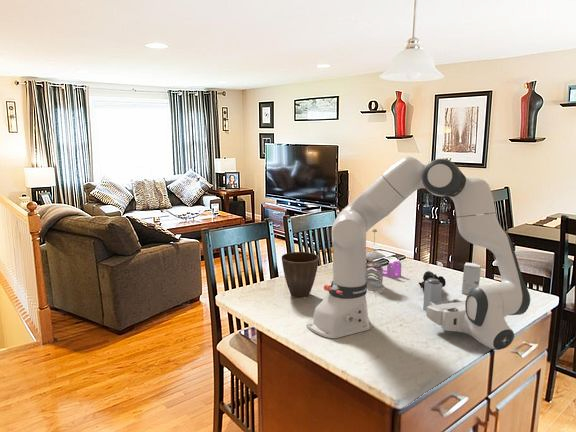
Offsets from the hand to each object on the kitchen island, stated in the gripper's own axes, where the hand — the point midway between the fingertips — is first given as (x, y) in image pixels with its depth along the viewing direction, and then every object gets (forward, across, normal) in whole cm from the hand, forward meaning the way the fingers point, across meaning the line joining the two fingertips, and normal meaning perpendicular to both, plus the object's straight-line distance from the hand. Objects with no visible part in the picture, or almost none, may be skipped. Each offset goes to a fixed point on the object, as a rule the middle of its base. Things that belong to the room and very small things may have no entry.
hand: (443, 302), depth 154 cm
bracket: (+51, -4, +6) cm, 51 cm away
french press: (+37, +10, +6) cm, 39 cm away
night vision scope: (+25, -11, +6) cm, 28 cm away
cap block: (+7, 0, +6) cm, 9 cm away
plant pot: (+36, +42, +6) cm, 55 cm away
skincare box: (+19, -26, +6) cm, 32 cm away
